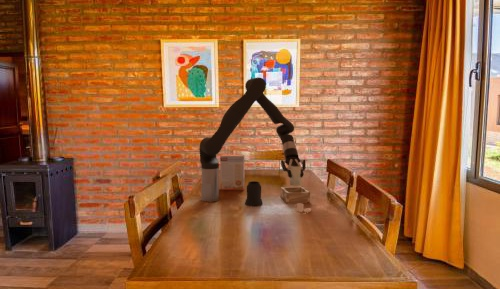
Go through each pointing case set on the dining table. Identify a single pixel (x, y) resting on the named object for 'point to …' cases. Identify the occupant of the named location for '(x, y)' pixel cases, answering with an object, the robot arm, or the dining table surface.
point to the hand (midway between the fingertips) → (296, 176)
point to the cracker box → (232, 172)
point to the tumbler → (295, 175)
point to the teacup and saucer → (301, 208)
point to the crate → (295, 195)
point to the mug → (253, 194)
